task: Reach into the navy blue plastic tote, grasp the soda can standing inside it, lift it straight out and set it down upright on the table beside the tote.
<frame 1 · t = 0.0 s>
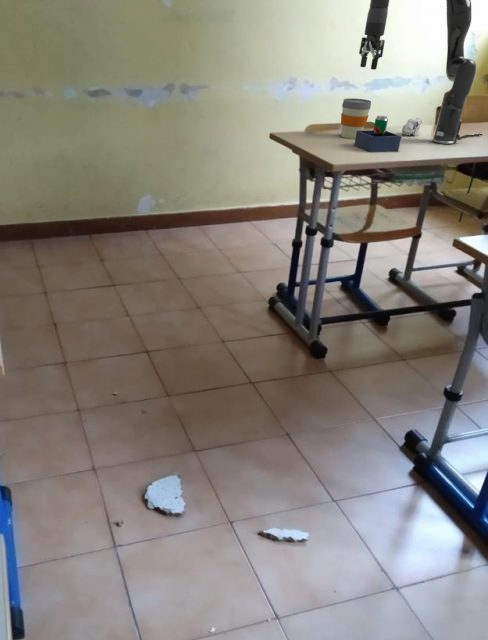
hand: (368, 68, 246), 29 cm above the table, tool pointing down, fingers open, 8 cm apart
reusable coffee cup: (350, 137, 277), on the table
skull: (410, 135, 286), on the table
soda can: (376, 147, 258), resting on tote
tote: (375, 148, 258), on the table
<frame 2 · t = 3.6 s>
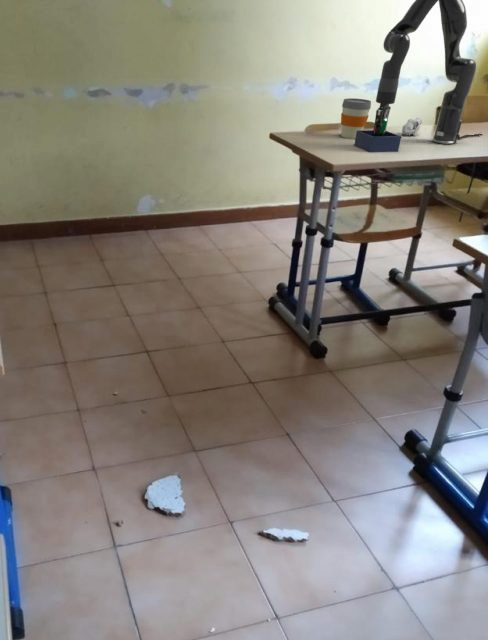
hand: (378, 134, 255), 5 cm above the table, tool pointing down, fingers closed on soda can, 5 cm apart
soda can: (376, 147, 258), resting on tote, touching gripper
everything else where it was.
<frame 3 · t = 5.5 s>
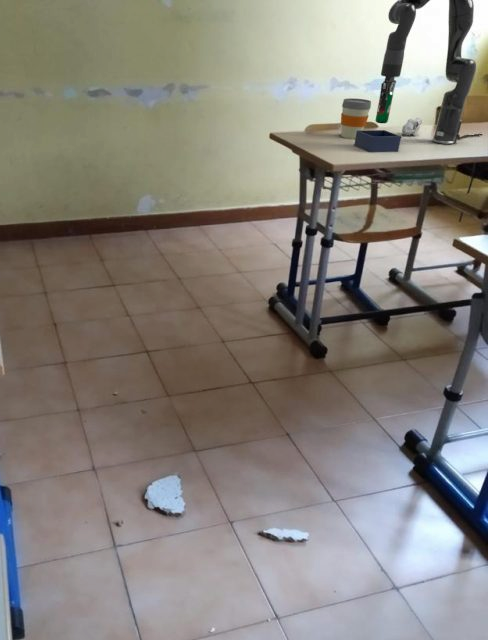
hand: (383, 109, 250), 15 cm above the table, tool pointing down, fingers closed on soda can, 5 cm apart
soda can: (381, 123, 252), point 10 cm above the table, touching gripper
everything else where it was.
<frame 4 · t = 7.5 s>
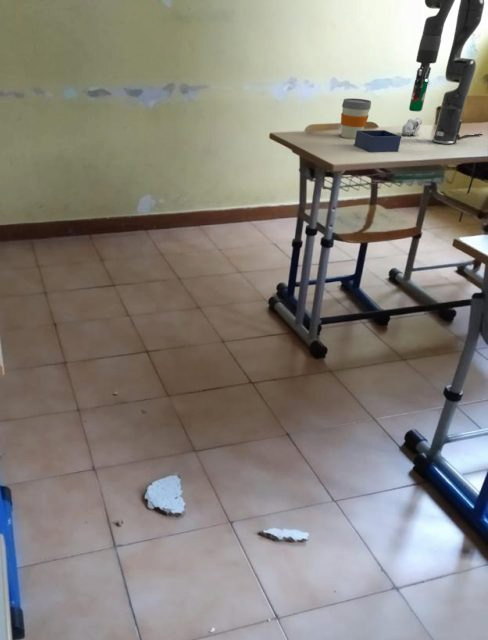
hand: (418, 97, 243), 21 cm above the table, tool pointing down, fingers closed on soda can, 5 cm apart
soda can: (414, 111, 246), point 16 cm above the table, touching gripper
everything else where it was.
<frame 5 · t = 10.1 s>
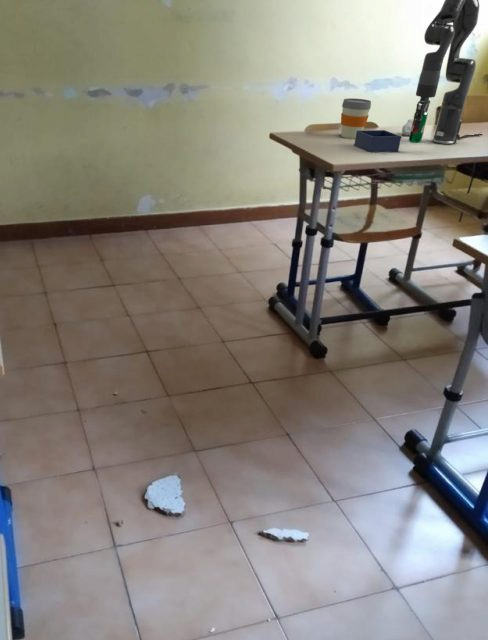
hand: (417, 129, 249), 9 cm above the table, tool pointing down, fingers closed on soda can, 5 cm apart
soda can: (414, 142, 252), point 4 cm above the table, touching gripper
everything else where it was.
when the fingers open (5 cm above the table, at t = 11.6 s): soda can stays where it is, on the table.
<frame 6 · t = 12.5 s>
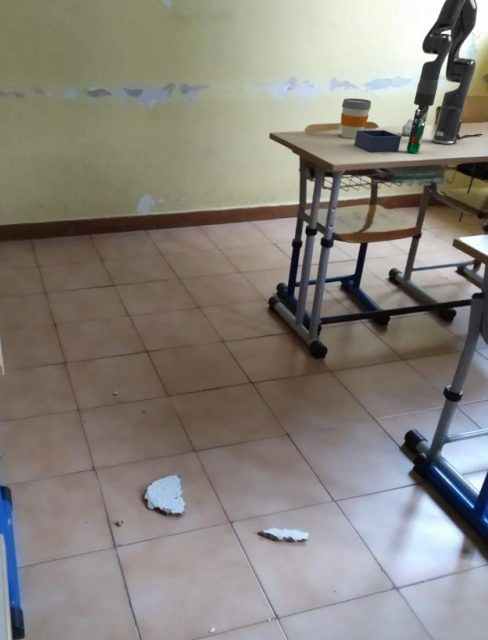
hand: (416, 135, 250), 7 cm above the table, tool pointing down, fingers open, 8 cm apart
soda can: (412, 152, 254), on the table
everything else where it was.
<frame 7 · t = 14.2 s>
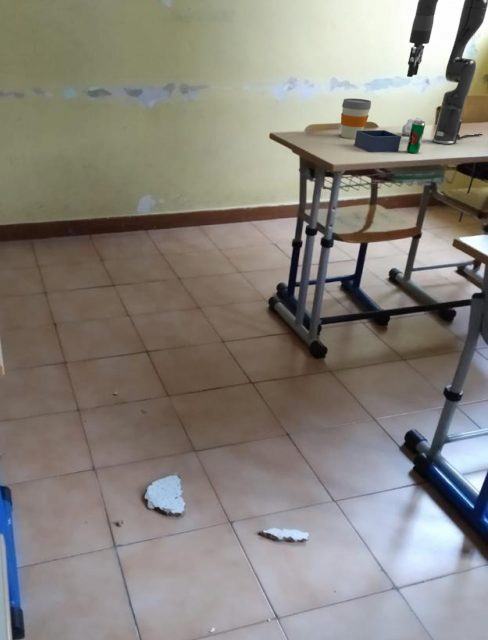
hand: (411, 75, 245), 27 cm above the table, tool pointing down, fingers open, 8 cm apart
nothing on the table moved.
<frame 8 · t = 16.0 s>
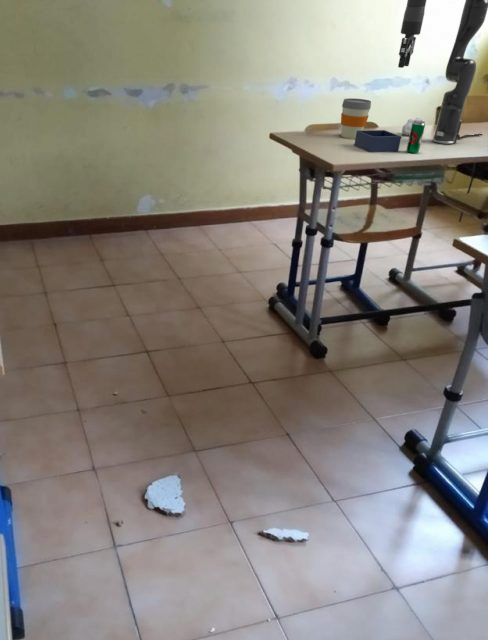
hand: (403, 66, 248), 30 cm above the table, tool pointing down, fingers open, 8 cm apart
nothing on the table moved.
at the end: soda can inside the target area (0.0 cm from its centre), on the table; soda can tilted 0°; the gripper is holding nothing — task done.
